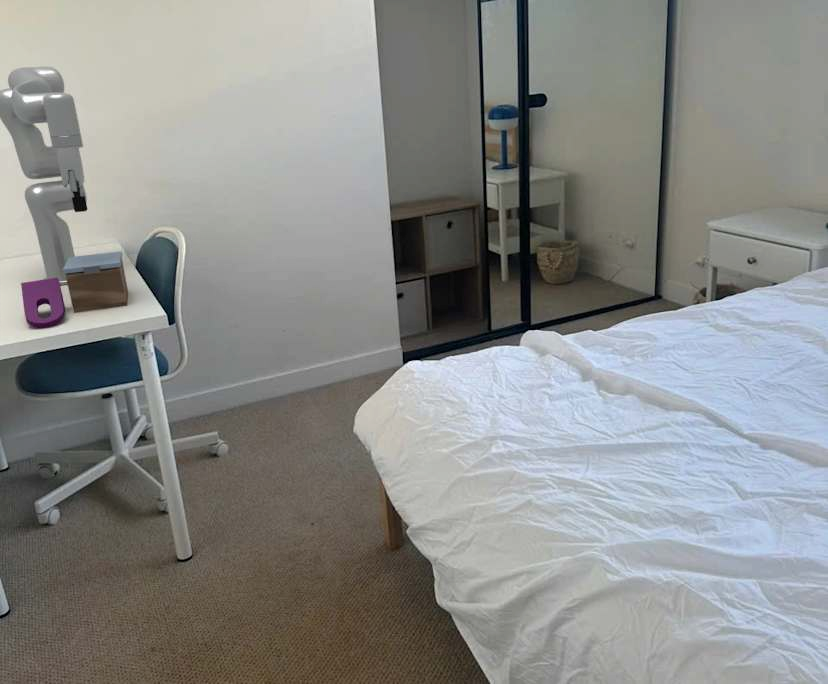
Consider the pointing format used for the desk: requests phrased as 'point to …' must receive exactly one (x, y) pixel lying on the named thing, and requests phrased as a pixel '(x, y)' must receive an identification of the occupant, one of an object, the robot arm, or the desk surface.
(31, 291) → the mounting bracket
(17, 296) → the desk surface
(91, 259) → the lid
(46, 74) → the robot arm
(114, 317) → the desk surface
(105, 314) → the desk surface
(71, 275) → the storage box
